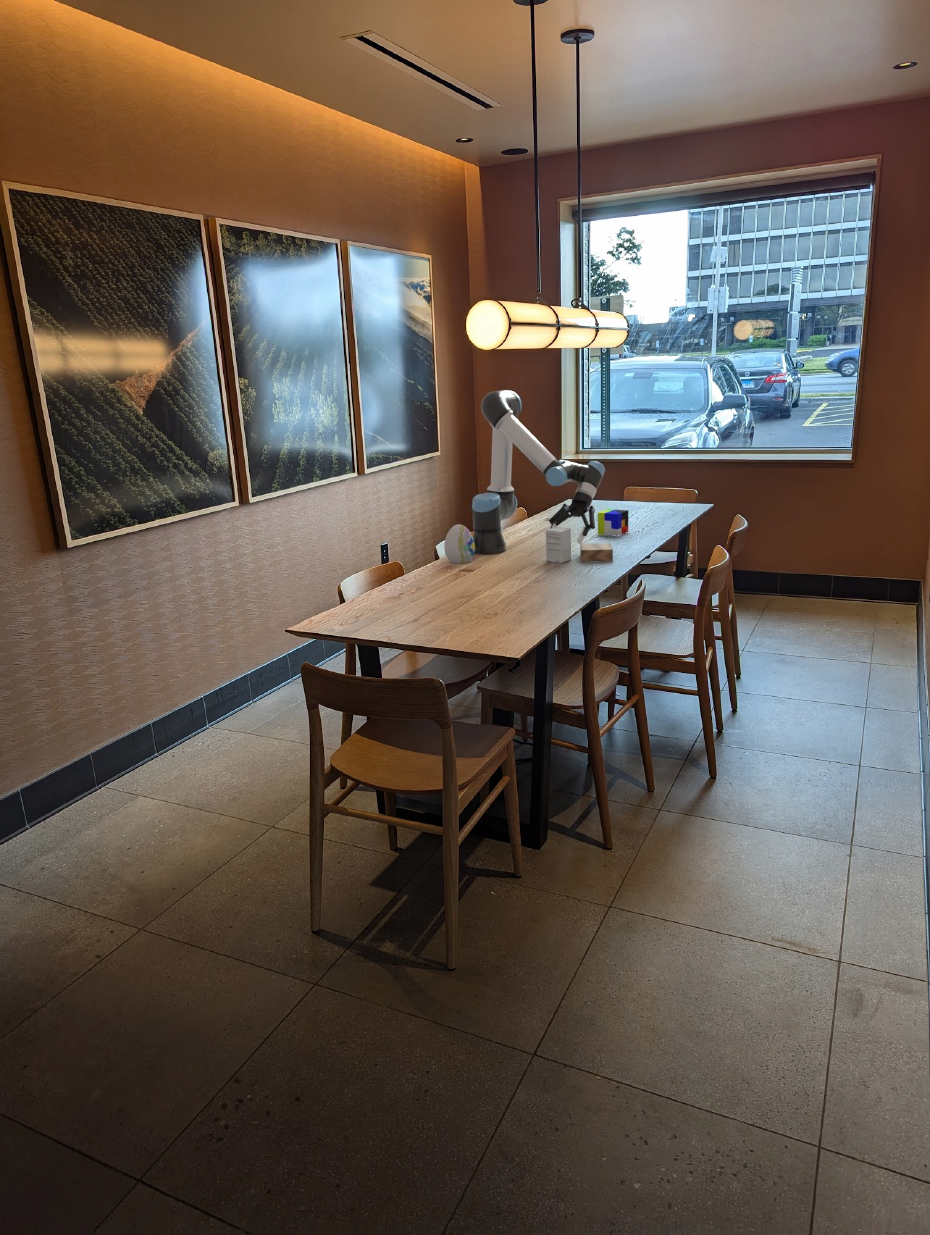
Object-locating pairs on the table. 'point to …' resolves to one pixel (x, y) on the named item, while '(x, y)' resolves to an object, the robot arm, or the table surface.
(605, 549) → the walnut box
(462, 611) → the table surface
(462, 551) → the decorative egg
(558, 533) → the supplement box
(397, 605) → the table surface
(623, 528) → the puzzle toy
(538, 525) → the table surface
